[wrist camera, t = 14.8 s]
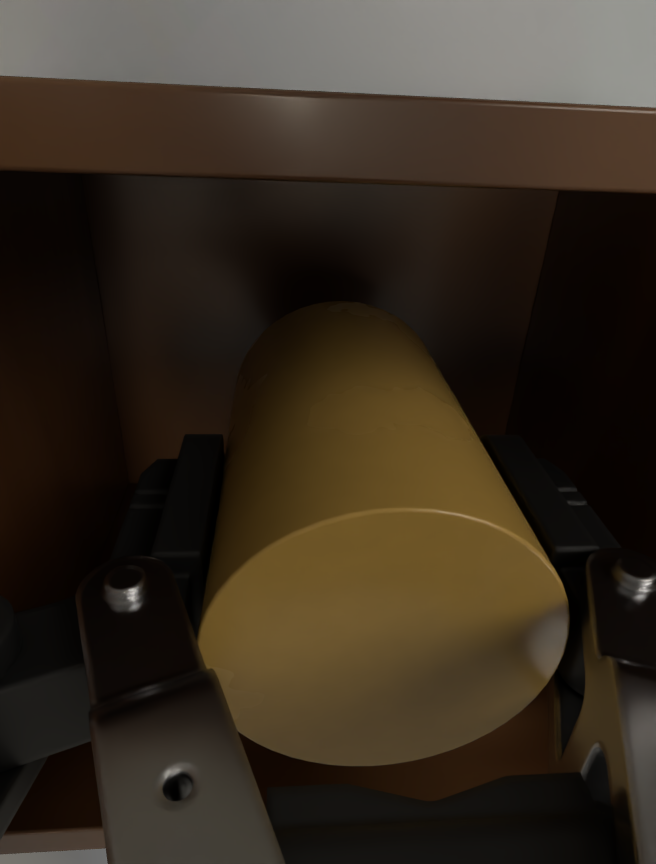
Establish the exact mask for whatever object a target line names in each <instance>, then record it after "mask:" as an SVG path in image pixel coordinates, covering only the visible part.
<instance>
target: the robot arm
mask: <svg viewBox="0 0 656 864" xmlns="http://www.w3.org/2000/svg"><path fill="white" fill-rule="evenodd" d="M479 439H480V441H481V442H482V444H483V446H484V448H485V449H486V451H487V453H488V455H489V456H490V458H491V460H492V461H493V463H494V465H495V467H496V468H497V470H498V472H499V474H500V475H501V477H502V479H503V480H504V482H505V484H506V486H507V487H508V489H509V491H510V493H511V494H512V496H513V498H514V499H515V501H516V503H517V505H518V506H519V508H520V510H521V512H522V513H523V515H524V517H525V518H526V520H527V522H528V524H529V525H530V527H531V529H532V531H533V532H534V534H535V536H536V537H537V539H538V541H539V543H540V544H541V546H542V548H543V550H544V551H545V553H546V555H547V556H548V558H549V560H550V562H551V563H552V565H553V567H554V569H555V570H556V572H557V574H558V576H559V578H560V579H561V581H562V583H563V586H564V589H565V592H566V595H567V598H568V603H569V612H570V627H569V637H568V641H567V645H566V649H565V652H564V655H563V657H562V659H561V661H560V663H559V666H558V668H557V670H556V671H555V673H554V674H553V676H552V677H551V679H550V680H549V682H548V683H547V701H548V774H531V775H511V776H504V777H501V778H498V779H496V780H493V781H490V782H487V783H485V784H482V785H479V786H476V787H473V788H471V789H468V790H465V791H462V792H460V793H457V794H454V795H451V796H448V797H446V798H443V799H440V800H436V801H424V800H419V799H415V798H410V797H405V796H401V795H396V794H392V793H387V792H383V791H378V790H374V789H369V788H365V787H360V786H356V785H351V784H326V785H306V786H286V787H267V807H266V808H265V805H264V803H263V800H262V797H261V794H260V792H259V789H258V786H257V783H256V780H255V778H254V775H253V772H252V769H251V767H250V764H249V761H248V758H247V756H246V753H245V750H244V747H243V745H242V742H241V739H240V736H239V734H238V731H237V728H236V725H235V723H234V720H233V717H232V714H231V712H230V709H229V706H228V703H227V701H226V698H225V695H224V692H223V690H222V687H221V684H220V682H219V679H218V677H217V675H216V673H215V671H214V669H213V668H209V669H207V668H206V665H205V663H204V660H203V657H202V654H201V651H200V649H199V646H198V643H197V640H196V638H197V632H198V625H199V619H200V612H201V606H202V599H203V593H204V587H205V580H206V574H207V567H208V561H209V554H210V548H211V542H212V535H213V529H214V522H215V516H216V509H217V503H218V496H219V490H220V484H221V477H222V471H223V464H224V458H225V455H224V440H223V435H222V434H185V435H184V438H183V442H182V445H181V449H180V452H179V456H178V459H157V460H156V461H155V462H154V463H152V464H151V465H150V466H149V467H148V468H147V469H146V470H145V471H144V472H143V473H141V476H140V478H139V481H138V484H137V486H136V489H135V495H133V497H132V500H131V503H130V505H129V506H130V508H129V509H128V511H127V514H126V516H125V519H124V522H123V524H122V527H121V530H120V533H119V535H118V538H117V541H116V543H115V546H114V549H113V552H112V554H111V557H110V560H109V561H108V562H106V563H104V564H102V565H100V566H98V567H97V568H95V569H94V570H92V571H91V572H90V573H89V574H88V575H87V576H86V577H85V578H84V579H83V580H82V582H81V583H80V585H79V587H78V589H77V592H76V595H74V596H72V597H69V598H67V599H64V600H62V601H58V602H55V603H52V604H48V605H44V606H40V607H36V608H32V609H28V610H24V611H20V612H17V613H14V610H13V608H12V605H11V604H10V602H9V601H8V600H7V599H6V598H4V597H3V596H1V595H0V840H1V838H2V837H3V835H4V833H5V831H6V830H7V828H8V826H9V824H10V823H11V821H12V819H13V817H14V816H15V814H16V812H17V810H18V809H19V807H20V805H21V803H22V802H23V800H24V798H25V797H26V795H27V793H28V791H29V790H30V788H31V786H32V784H33V783H34V781H35V779H36V777H37V776H38V774H39V772H40V770H41V769H42V767H43V765H44V763H45V762H46V760H47V758H48V756H50V755H52V754H55V753H58V752H61V751H64V750H67V749H70V748H73V747H76V746H78V745H81V744H84V743H87V742H90V741H91V743H92V750H93V758H94V765H95V772H96V780H97V787H98V795H99V802H100V809H101V817H102V824H103V832H104V839H105V846H106V853H107V861H108V864H656V560H654V559H652V558H651V557H648V556H646V555H644V554H641V553H639V552H636V551H632V550H629V549H623V548H622V547H621V546H620V545H619V543H618V542H617V541H616V539H615V538H614V537H613V535H612V534H611V533H610V531H609V530H608V529H607V527H606V526H605V525H604V523H603V522H602V521H601V519H600V518H599V517H598V516H597V514H596V513H595V512H594V510H593V509H592V508H591V506H590V505H587V501H586V500H585V498H584V497H583V496H582V494H581V493H580V492H577V488H576V486H575V485H574V484H573V482H572V481H571V480H570V478H569V477H568V476H567V474H566V473H565V472H564V471H562V470H561V469H560V468H558V467H557V466H555V465H554V464H552V463H551V462H549V461H548V460H546V459H545V458H536V457H535V455H534V454H533V453H532V451H531V450H530V448H529V447H528V445H527V444H526V443H525V441H524V440H523V438H522V437H521V436H520V435H482V436H481V437H480V438H479Z"/></svg>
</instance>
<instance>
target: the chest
mask: <svg viewBox="0 0 656 864" xmlns="http://www.w3.org/2000/svg"><path fill="white" fill-rule="evenodd" d="M332 301H348V302H358V303H363V304H368V305H372V306H374V307H377V308H380V309H383V310H385V311H387V312H389V313H391V314H393V315H395V316H396V317H398V318H399V319H400V320H402V321H403V322H405V323H406V324H407V325H408V326H409V327H410V328H411V329H412V330H414V331H415V332H416V333H417V335H418V336H419V337H420V339H421V340H422V341H423V343H424V344H425V346H426V348H427V349H428V351H429V353H430V354H431V356H432V358H433V360H434V361H435V363H436V365H437V367H438V368H439V370H440V372H441V373H442V375H443V377H444V379H445V380H446V382H447V384H448V385H449V387H450V389H451V391H452V392H453V394H454V396H455V398H456V399H457V401H458V403H459V404H460V406H461V408H462V410H463V411H464V413H465V415H466V417H467V418H468V420H469V422H470V423H471V425H472V427H473V429H474V430H475V432H476V434H477V436H478V437H479V438H480V437H481V436H482V435H520V436H521V437H522V438H523V440H524V441H525V443H526V444H527V445H528V447H529V448H530V450H531V451H532V453H533V454H534V455H535V457H536V458H545V459H546V460H548V461H549V462H551V463H552V464H554V465H555V466H557V467H558V468H560V469H561V470H562V471H564V472H565V473H566V474H567V476H568V477H569V478H570V480H571V481H572V482H573V484H574V485H575V486H576V488H577V492H580V493H581V494H582V496H583V497H584V498H585V500H586V501H587V505H590V506H591V508H592V509H593V510H594V512H595V513H596V514H597V516H598V517H599V518H600V519H601V521H602V522H603V523H604V525H605V526H606V527H607V529H608V530H609V531H610V533H611V534H612V535H613V537H614V538H615V539H616V541H617V542H618V543H619V545H620V546H621V547H622V548H623V549H629V550H632V551H636V552H639V553H641V554H644V555H646V556H648V557H651V558H652V559H654V560H656V108H651V107H631V106H610V105H590V104H569V103H548V102H528V101H507V100H487V99H466V98H446V97H425V96H405V95H384V94H364V93H343V92H323V91H302V90H282V89H261V88H241V87H220V86H200V85H179V84H159V83H138V82H118V81H97V80H76V79H56V78H35V77H15V76H0V595H1V596H3V597H4V598H6V599H7V600H8V601H9V602H10V604H11V605H12V608H13V610H14V613H17V612H20V611H24V610H28V609H32V608H36V607H40V606H44V605H48V604H52V603H55V602H58V601H62V600H64V599H67V598H69V597H72V596H74V595H76V592H77V589H78V587H79V585H80V583H81V582H82V580H83V579H84V578H85V577H86V576H87V575H88V574H89V573H90V572H91V571H92V570H94V569H95V568H97V567H98V566H100V565H102V564H104V563H106V562H108V561H109V560H110V557H111V554H112V552H113V549H114V546H115V543H116V541H117V538H118V535H119V533H120V530H121V527H122V524H123V522H124V519H125V516H126V514H127V511H128V509H129V508H130V506H129V505H130V503H131V500H132V497H133V495H135V489H136V486H137V484H138V481H139V478H140V476H141V473H143V472H144V471H145V470H146V469H147V468H148V467H149V466H150V465H151V464H152V463H154V462H155V461H156V460H157V459H178V456H179V452H180V449H181V445H182V442H183V438H184V435H185V434H222V435H223V440H224V455H225V451H226V445H227V438H228V432H229V425H230V419H231V412H232V406H233V400H234V393H235V387H236V381H237V376H238V373H239V370H240V367H241V364H242V362H243V360H244V358H245V356H246V354H247V352H248V350H249V349H250V347H251V346H252V344H253V343H254V342H255V340H256V339H257V338H258V337H259V336H260V335H261V334H262V333H263V332H264V331H265V330H266V329H267V328H268V327H270V326H271V325H272V324H273V323H274V322H276V321H277V320H279V319H281V318H282V317H284V316H285V315H287V314H289V313H291V312H294V311H296V310H298V309H300V308H303V307H306V306H310V305H313V304H318V303H324V302H332ZM238 734H239V736H240V739H241V742H242V745H243V747H244V750H245V753H246V756H247V758H248V761H249V764H250V767H251V769H252V772H253V775H254V778H255V780H256V783H257V786H258V789H259V792H260V794H261V797H262V800H263V803H264V805H265V808H266V807H267V787H286V786H306V785H326V784H351V785H356V786H360V787H365V788H369V789H374V790H378V791H383V792H387V793H392V794H396V795H401V796H405V797H410V798H415V799H419V800H424V801H436V800H440V799H443V798H446V797H448V796H451V795H454V794H457V793H460V792H462V791H465V790H468V789H471V788H473V787H476V786H479V785H482V784H485V783H487V782H490V781H493V780H496V779H498V778H501V777H504V776H511V775H531V774H548V701H547V685H546V686H545V687H544V688H543V689H542V691H541V692H540V693H539V694H538V695H537V697H536V698H535V699H534V700H533V701H531V702H530V703H529V704H528V705H527V706H526V707H525V708H524V709H523V710H522V711H521V712H519V713H518V714H517V715H515V716H514V717H513V718H511V719H510V720H509V721H508V722H506V723H505V724H503V725H501V726H500V727H498V728H497V729H495V730H493V731H492V732H490V733H488V734H486V735H484V736H482V737H480V738H478V739H476V740H474V741H473V742H470V743H468V744H465V745H463V746H460V747H458V748H456V749H453V750H450V751H447V752H444V753H441V754H438V755H435V756H431V757H427V758H423V759H419V760H414V761H409V762H403V763H397V764H389V765H377V766H340V765H328V764H321V763H315V762H309V761H305V760H301V759H297V758H293V757H289V756H286V755H283V754H281V753H278V752H275V751H272V750H270V749H268V748H266V747H264V746H262V745H259V744H257V743H255V742H254V741H252V740H250V739H249V738H247V737H246V736H244V735H242V734H241V733H239V732H238ZM102 848H106V846H105V839H104V832H103V824H102V817H101V809H100V802H99V795H98V787H97V780H96V772H95V765H94V758H93V750H92V743H91V741H90V742H87V743H84V744H81V745H78V746H76V747H73V748H70V749H67V750H64V751H61V752H58V753H55V754H52V755H50V756H48V758H47V760H46V762H45V763H44V765H43V767H42V769H41V770H40V772H39V774H38V776H37V777H36V779H35V781H34V783H33V784H32V786H31V788H30V790H29V791H28V793H27V795H26V797H25V798H24V800H23V802H22V803H21V805H20V807H19V809H18V810H17V812H16V814H15V816H14V817H13V819H12V821H11V823H10V824H9V826H8V828H7V830H6V831H5V833H4V835H3V837H2V838H1V840H0V854H13V853H14V854H15V853H32V852H47V851H67V850H83V849H84V850H85V849H102Z"/></svg>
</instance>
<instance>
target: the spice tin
mask: <svg viewBox="0 0 656 864" xmlns="http://www.w3.org/2000/svg"><path fill="white" fill-rule="evenodd" d="M569 627H570V612H569V603H568V598H567V595H566V592H565V589H564V586H563V583H562V581H561V579H560V578H559V576H558V574H557V572H556V570H555V569H554V567H553V565H552V563H551V562H550V560H549V558H548V556H547V555H546V553H545V551H544V550H543V548H542V546H541V544H540V543H539V541H538V539H537V537H536V536H535V534H534V532H533V531H532V529H531V527H530V525H529V524H528V522H527V520H526V518H525V517H524V515H523V513H522V512H521V510H520V508H519V506H518V505H517V503H516V501H515V499H514V498H513V496H512V494H511V493H510V491H509V489H508V487H507V486H506V484H505V482H504V480H503V479H502V477H501V475H500V474H499V472H498V470H497V468H496V467H495V465H494V463H493V461H492V460H491V458H490V456H489V455H488V453H487V451H486V449H485V448H484V446H483V444H482V442H481V441H480V439H479V437H478V436H477V434H476V432H475V430H474V429H473V427H472V425H471V423H470V422H469V420H468V418H467V417H466V415H465V413H464V411H463V410H462V408H461V406H460V404H459V403H458V401H457V399H456V398H455V396H454V394H453V392H452V391H451V389H450V387H449V385H448V384H447V382H446V380H445V379H444V377H443V375H442V373H441V372H440V370H439V368H438V367H437V365H436V363H435V361H434V360H433V358H432V356H431V354H430V353H429V351H428V349H427V348H426V346H425V344H424V343H423V341H422V340H421V339H420V337H419V336H418V335H417V333H416V332H415V331H414V330H412V329H411V328H410V327H409V326H408V325H407V324H406V323H405V322H403V321H402V320H400V319H399V318H398V317H396V316H395V315H393V314H391V313H389V312H387V311H385V310H383V309H380V308H377V307H374V306H372V305H368V304H363V303H358V302H348V301H332V302H324V303H318V304H313V305H310V306H306V307H303V308H300V309H298V310H296V311H294V312H291V313H289V314H287V315H285V316H284V317H282V318H281V319H279V320H277V321H276V322H274V323H273V324H272V325H271V326H270V327H268V328H267V329H266V330H265V331H264V332H263V333H262V334H261V335H260V336H259V337H258V338H257V339H256V340H255V342H254V343H253V344H252V346H251V347H250V349H249V350H248V352H247V354H246V356H245V358H244V360H243V362H242V364H241V367H240V370H239V373H238V376H237V381H236V387H235V393H234V400H233V406H232V412H231V419H230V425H229V432H228V438H227V445H226V451H225V458H224V464H223V471H222V477H221V484H220V490H219V496H218V503H217V509H216V516H215V522H214V529H213V535H212V542H211V548H210V554H209V561H208V567H207V574H206V580H205V587H204V593H203V599H202V606H201V612H200V619H199V625H198V632H197V638H196V640H197V643H198V646H199V649H200V651H201V654H202V657H203V660H204V663H205V665H206V668H207V669H209V668H213V669H214V671H215V673H216V675H217V677H218V679H219V682H220V684H221V687H222V690H223V692H224V695H225V698H226V701H227V703H228V706H229V709H230V712H231V714H232V717H233V720H234V723H235V725H236V728H237V731H238V732H239V733H241V734H242V735H244V736H246V737H247V738H249V739H250V740H252V741H254V742H255V743H257V744H259V745H262V746H264V747H266V748H268V749H270V750H272V751H275V752H278V753H281V754H283V755H286V756H289V757H293V758H297V759H301V760H305V761H309V762H315V763H321V764H328V765H340V766H377V765H389V764H397V763H403V762H409V761H414V760H419V759H423V758H427V757H431V756H435V755H438V754H441V753H444V752H447V751H450V750H453V749H456V748H458V747H460V746H463V745H465V744H468V743H470V742H473V741H474V740H476V739H478V738H480V737H482V736H484V735H486V734H488V733H490V732H492V731H493V730H495V729H497V728H498V727H500V726H501V725H503V724H505V723H506V722H508V721H509V720H510V719H511V718H513V717H514V716H515V715H517V714H518V713H519V712H521V711H522V710H523V709H524V708H525V707H526V706H527V705H528V704H529V703H530V702H531V701H533V700H534V699H535V698H536V697H537V695H538V694H539V693H540V692H541V691H542V689H543V688H544V687H545V686H546V685H547V683H548V682H549V680H550V679H551V677H552V676H553V674H554V673H555V671H556V670H557V668H558V666H559V663H560V661H561V659H562V657H563V655H564V652H565V649H566V645H567V641H568V637H569Z"/></svg>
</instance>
